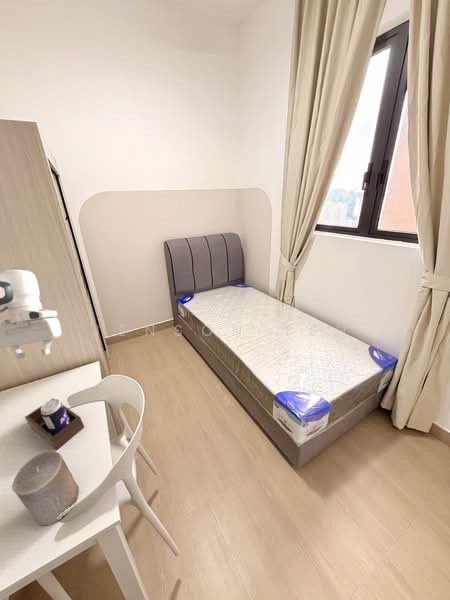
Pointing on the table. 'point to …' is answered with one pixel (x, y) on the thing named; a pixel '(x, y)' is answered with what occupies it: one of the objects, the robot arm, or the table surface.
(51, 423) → the beverage can
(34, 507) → the pillar candle
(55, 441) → the dark brown divided box
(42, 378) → the table surface
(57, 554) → the table surface
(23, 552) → the table surface
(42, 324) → the robot arm
